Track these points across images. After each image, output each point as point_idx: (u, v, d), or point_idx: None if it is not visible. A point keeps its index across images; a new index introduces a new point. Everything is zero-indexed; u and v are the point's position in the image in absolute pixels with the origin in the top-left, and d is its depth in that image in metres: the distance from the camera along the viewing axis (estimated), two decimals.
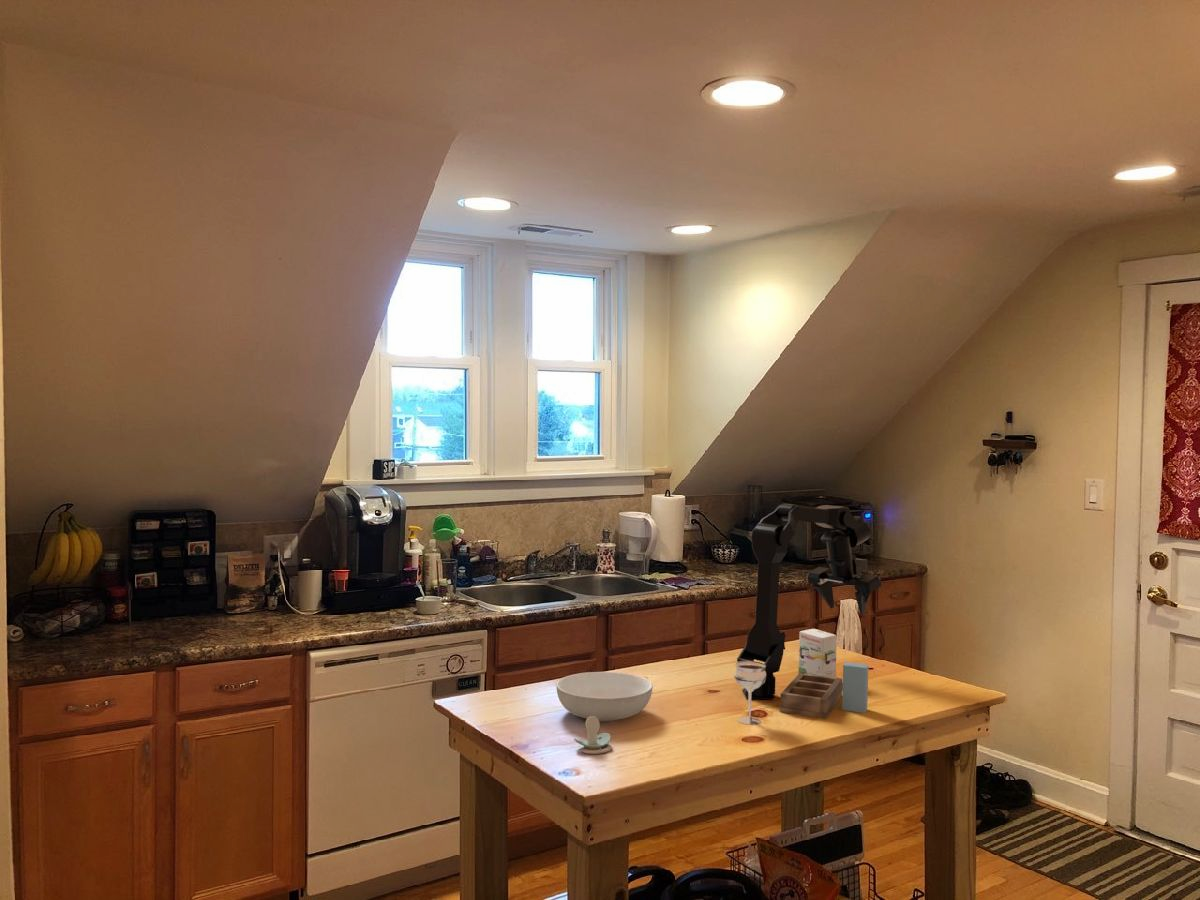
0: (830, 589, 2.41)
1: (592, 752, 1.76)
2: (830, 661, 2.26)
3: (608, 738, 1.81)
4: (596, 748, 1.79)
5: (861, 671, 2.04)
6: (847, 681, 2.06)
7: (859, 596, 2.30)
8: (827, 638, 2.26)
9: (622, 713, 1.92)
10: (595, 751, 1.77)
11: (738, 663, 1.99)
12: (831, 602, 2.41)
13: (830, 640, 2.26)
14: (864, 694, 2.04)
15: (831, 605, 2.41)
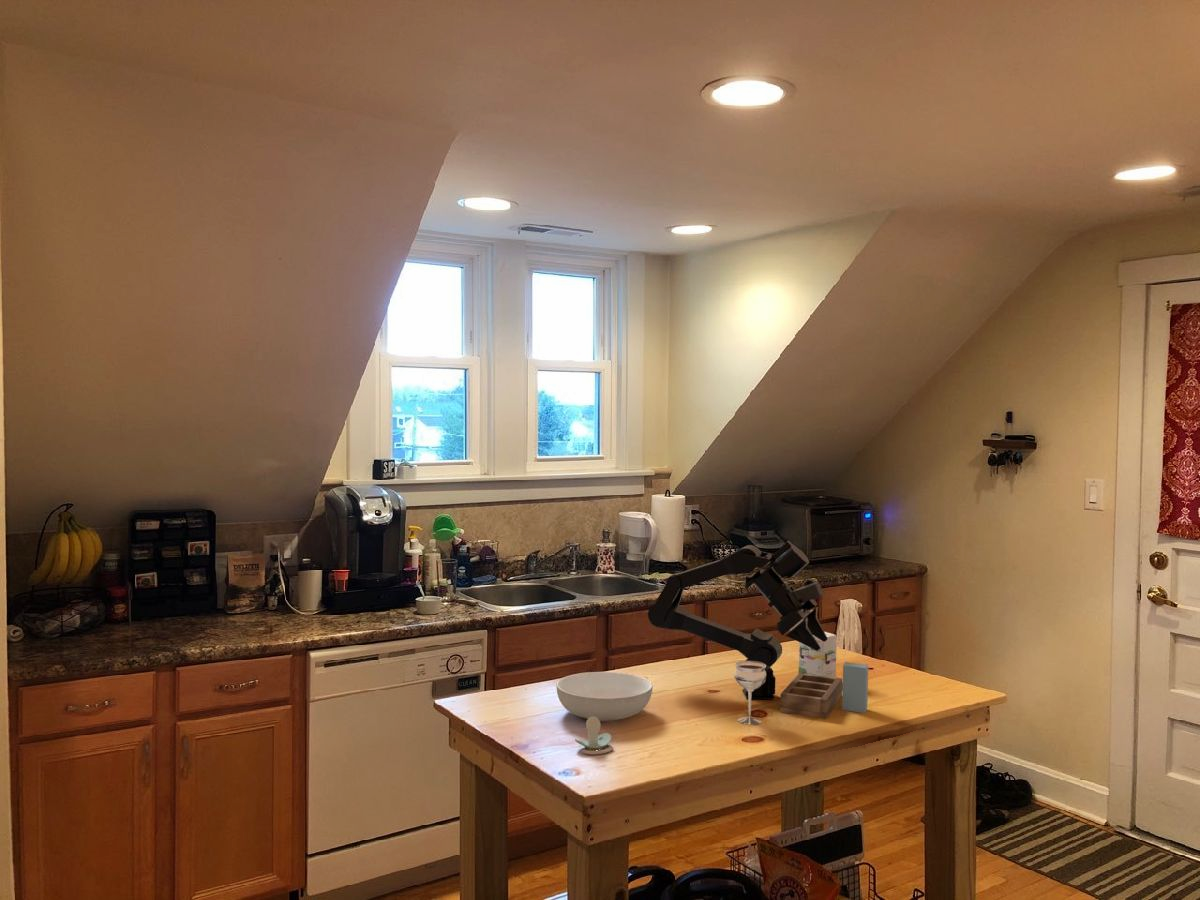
0: (813, 621, 2.15)
1: (593, 753, 1.76)
2: (830, 661, 2.26)
3: (609, 739, 1.80)
4: (597, 749, 1.79)
5: (861, 671, 2.04)
6: (847, 681, 2.06)
7: None
8: None
9: (622, 713, 1.92)
10: (596, 752, 1.76)
11: (738, 663, 1.99)
12: (820, 635, 2.14)
13: (830, 640, 2.26)
14: (864, 694, 2.04)
15: (821, 638, 2.14)
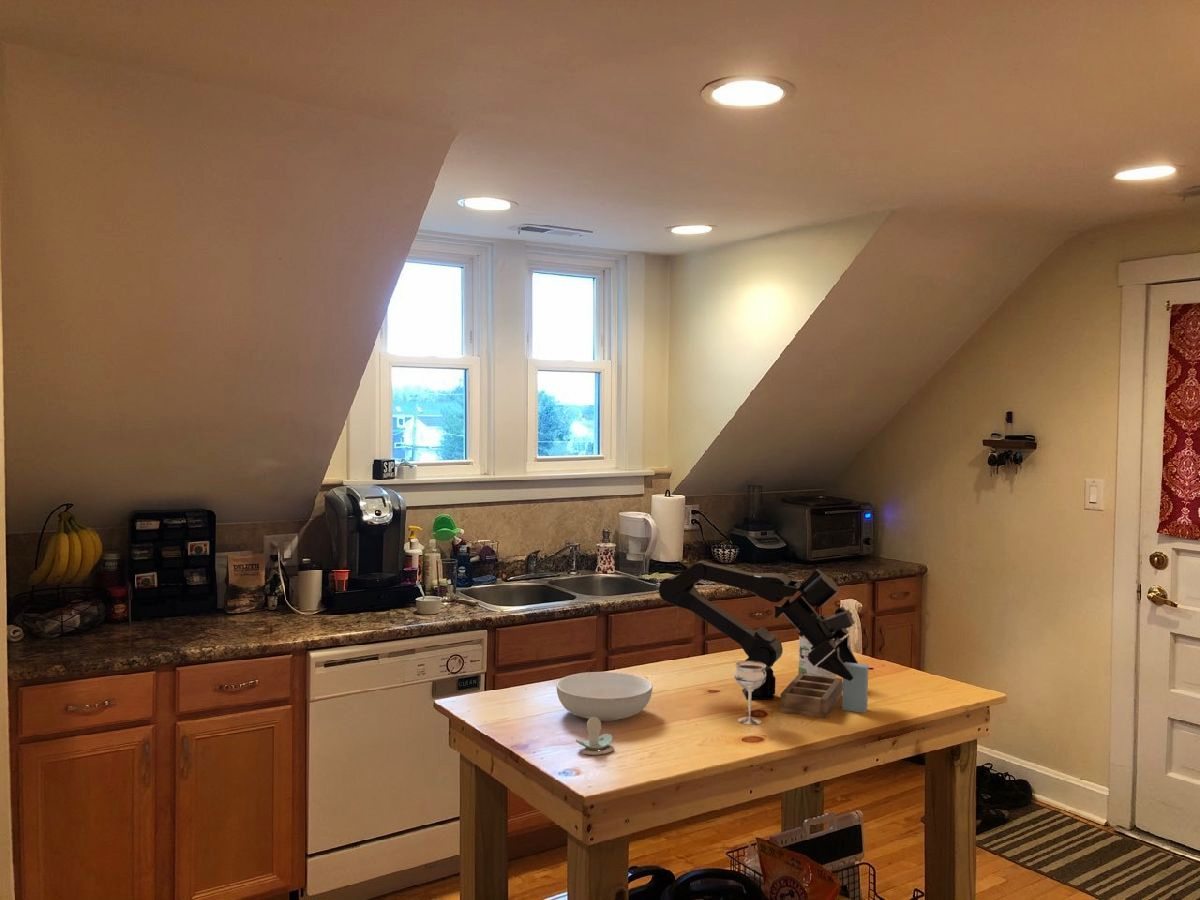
0: (845, 650, 2.12)
1: (594, 753, 1.76)
2: None
3: (610, 739, 1.80)
4: (598, 749, 1.78)
5: (861, 671, 2.04)
6: (847, 681, 2.06)
7: None
8: None
9: (622, 713, 1.92)
10: (597, 752, 1.76)
11: (738, 663, 1.99)
12: None
13: None
14: (864, 694, 2.04)
15: None
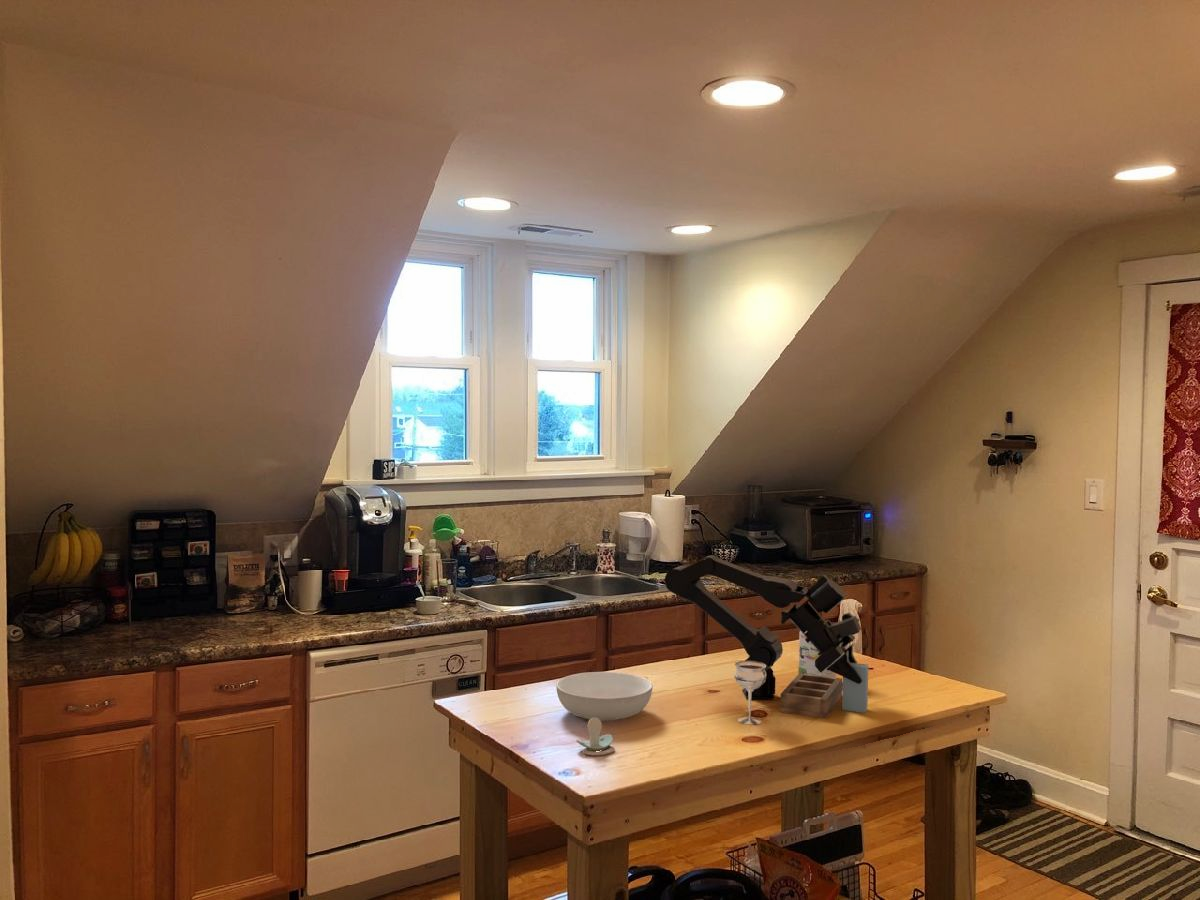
0: (849, 659, 2.09)
1: (594, 754, 1.76)
2: None
3: (610, 740, 1.80)
4: (598, 750, 1.78)
5: (861, 671, 2.04)
6: (847, 681, 2.06)
7: None
8: None
9: (622, 713, 1.92)
10: (597, 753, 1.76)
11: (738, 663, 1.99)
12: None
13: None
14: (864, 694, 2.04)
15: None
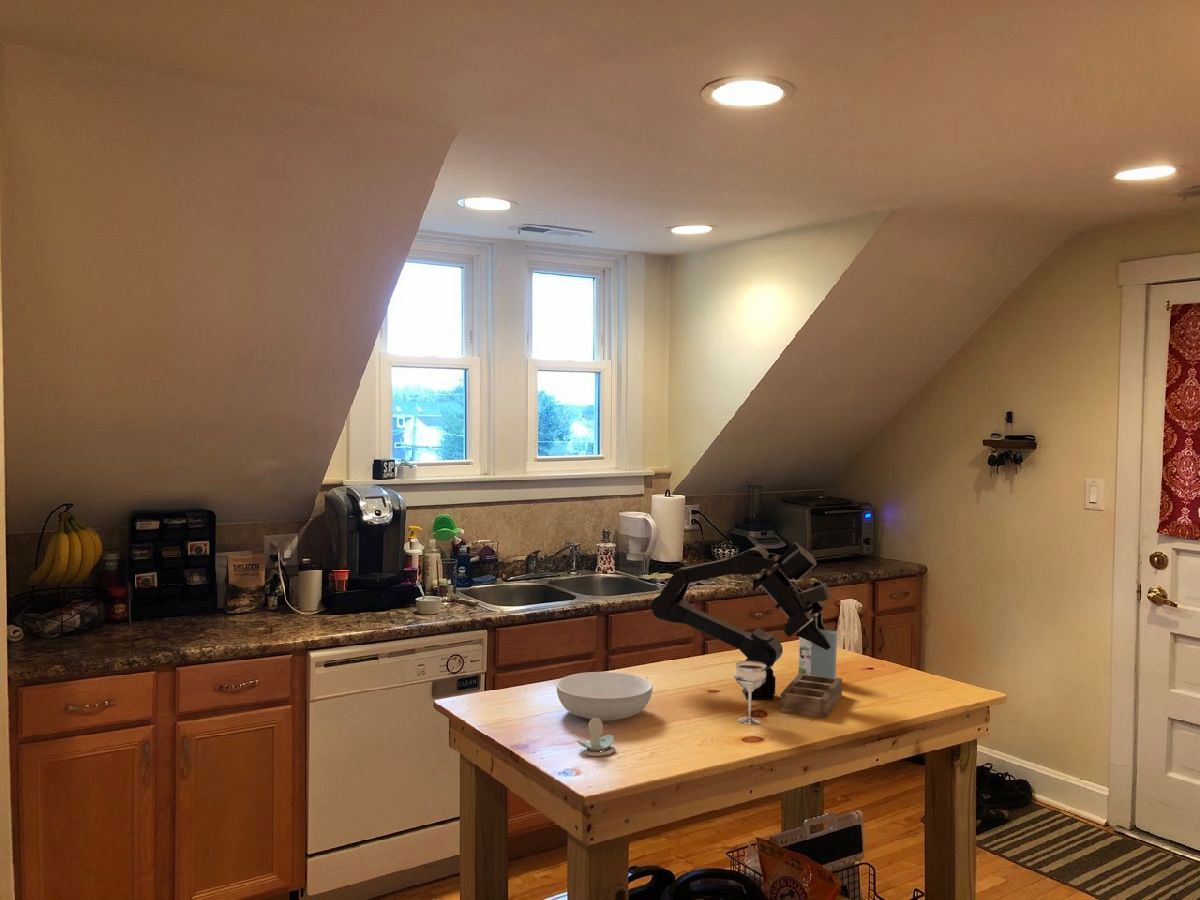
0: (819, 626, 2.11)
1: (595, 754, 1.75)
2: None
3: (611, 740, 1.79)
4: (599, 750, 1.78)
5: (829, 637, 2.07)
6: (816, 647, 2.08)
7: None
8: None
9: (622, 713, 1.92)
10: (598, 753, 1.76)
11: (738, 663, 1.99)
12: None
13: None
14: (832, 660, 2.07)
15: None
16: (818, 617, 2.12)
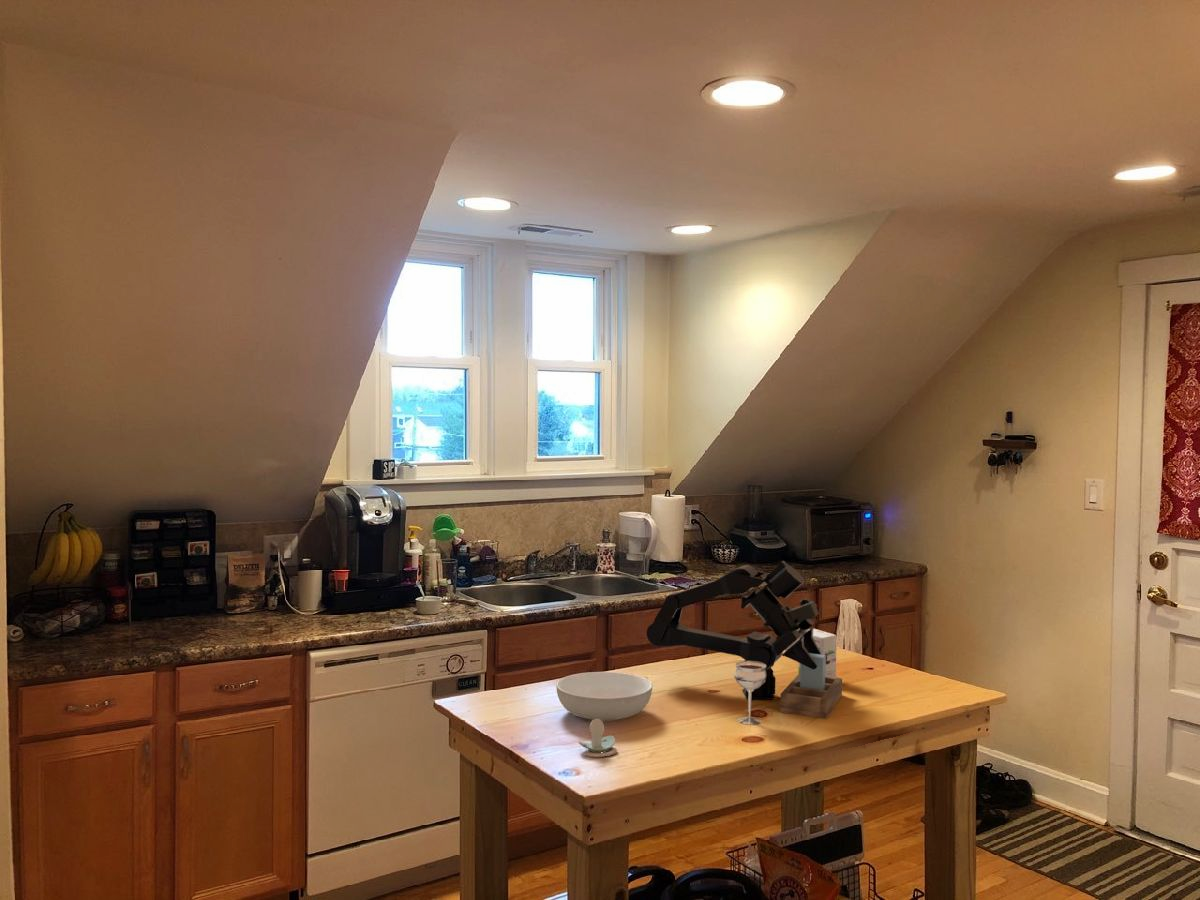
0: (809, 642, 2.14)
1: (596, 755, 1.75)
2: (830, 661, 2.26)
3: (613, 741, 1.79)
4: (600, 751, 1.77)
5: (818, 661, 2.08)
6: (804, 671, 2.09)
7: None
8: (827, 638, 2.26)
9: (622, 713, 1.92)
10: (600, 754, 1.75)
11: (738, 663, 1.99)
12: None
13: (830, 640, 2.26)
14: (821, 684, 2.08)
15: None
16: (808, 633, 2.14)
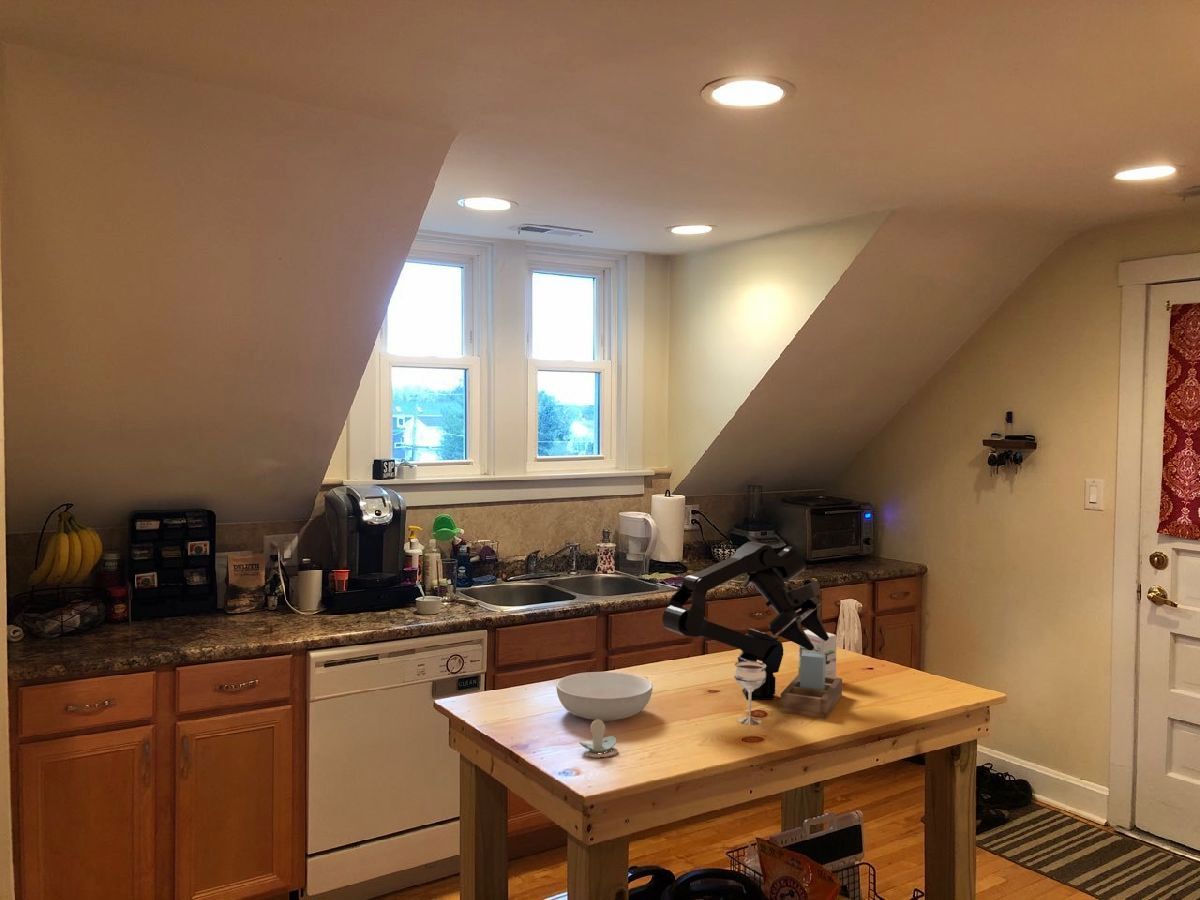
0: (815, 621, 2.15)
1: (597, 756, 1.75)
2: (830, 661, 2.26)
3: (613, 742, 1.79)
4: (601, 752, 1.77)
5: (818, 661, 2.08)
6: (804, 671, 2.09)
7: None
8: None
9: (622, 713, 1.92)
10: (600, 755, 1.75)
11: (738, 663, 1.99)
12: (822, 634, 2.14)
13: (830, 640, 2.26)
14: (821, 684, 2.08)
15: (823, 637, 2.14)
16: (814, 612, 2.15)
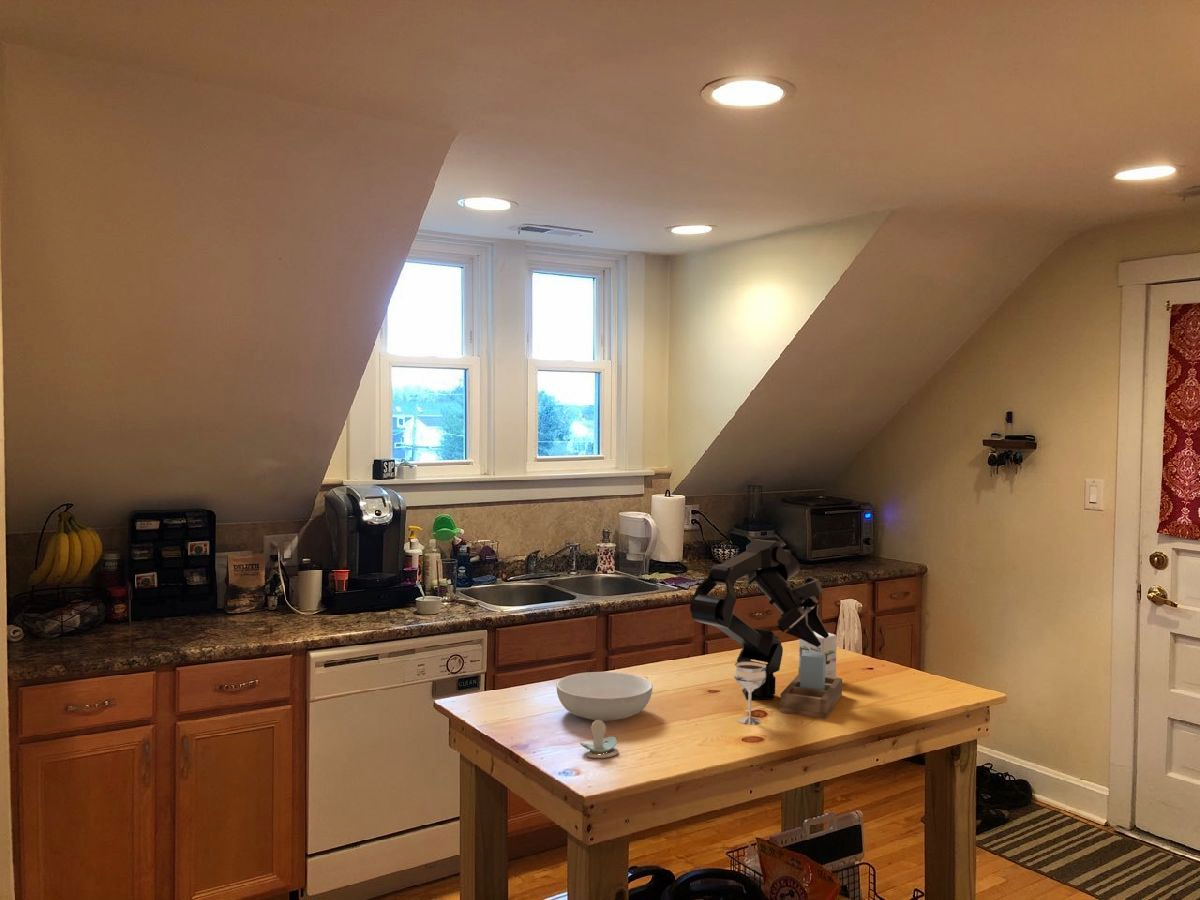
0: (815, 618, 2.18)
1: (598, 756, 1.74)
2: (830, 661, 2.26)
3: (614, 742, 1.78)
4: (602, 752, 1.77)
5: (818, 661, 2.08)
6: (804, 671, 2.09)
7: None
8: (827, 638, 2.26)
9: (622, 713, 1.92)
10: (601, 755, 1.75)
11: (738, 663, 1.99)
12: (822, 632, 2.17)
13: (830, 640, 2.26)
14: (821, 684, 2.08)
15: (823, 635, 2.17)
16: (814, 610, 2.19)
